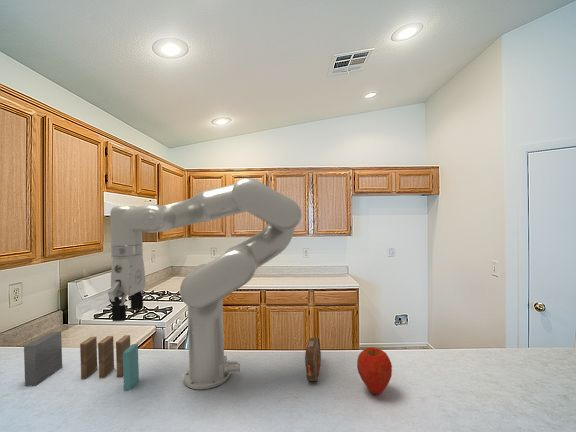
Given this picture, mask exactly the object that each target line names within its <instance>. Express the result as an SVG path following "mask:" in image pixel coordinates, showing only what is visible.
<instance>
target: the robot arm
mask: <svg viewBox="0 0 576 432" xmlns="http://www.w3.org/2000/svg"><path fill="white" fill-rule="evenodd" d="M245 212H247V213H248V214H250V215H252V216H254V217H256V218H258V219H260V220H261V221H263V222H265V223H267V225H266V226H265V227H264V228H263V229H262V230H260V231H259V232H257V233H255V234H254V235H253V236H251V237H250V238H248V239H246V240H243V242H240V243H238V244H236V245H234V246H232V247H229V248H228V249H227V250H226V251H225V252H224V253H223V254H221V255H219V256H217V257H216V258H214V259H212V260H211V261H209V262H207V263H203V264H199V265H197V266H195V267H194V268H192V269H191V270H190V271H189V272H188V273H187V274H186V275H185V277H184V278H183V279H182V280H181V282H180V283H181V284H180V288H179V295H180V299H181V300H182V302H183V303H184V304H185V305H187V327H188V328H187V332H188V334H187V335H188V336H187V337H188V367H189V368H188V370H187V371H186V372H185V374H184V376H183V383H184V386H186V387H188V388H190V389H193V390H207V389H213V388H215V387H218V386H220V385H222V384H224V383H225V382H227V381H228V379H229V378H230V376H231V373H232V372H233V373H238V372H240V371H241V363H238V361H237V360H232V361H230V360H228V357H227V355H225V339H224V335H225V334H224V298H225V297H227V296H229V295H230V294H232V293H234V292H235V291H237V290H239V289H240V288H242V287H244V286H245V285H246V284H248V282H250V281H251V280H252V279H253V277H254V275H255V273H256V271H257V269H258V268H260V267H262V266H263V265H265V264H266V263H268V262H269V261H272V260H273V259H274V258H276V257H277V256H279V255H281V254H282V253H283V251H284V250H286V248H287V247H288V246H289V244H290V243H291V241H292V239H293V237H294V233H295V228H297V226H298V225H299V224H300V223H301V220H302V216H303V215H302V209H301V207H300V205H299V204H298V203H297V202H296V201H294V199H292V198H291V197H288V196H287V195H284V194H283V193H280V192H279V191H277V190H275V189H274V188H272V187H269V186H267V184H264V183H262V182H261V181H259V180H257V179H255V178H252V177H245V178H241V179H239V180H238V181H236V182H235V183H232V184H228V185H223V186H219V187H215V188H211V189H207V190H203V191H200V192H198V193H196V195H194V196H192V197H191V198H188V199H185V200H181V201H177V202H173V203H169V204H164V205H159V204H148V205H140V206H135V205H120V206H119V205H118V206H113V207H112V208H111V210H110V214H109V215H110V247H111V248H110V249H111V250H110V252H111V253H110V254H111V256H110V257H111V259H112V261H111V271H110V273H111V274H110V288H109V290H108V291H107V295H108V298H109V302H110V306H111V316H112V317H111V319H112V322H124V321H127V320H126V319H127V306H126V304H125V302H126V299H127V297H130V309H131V310H142V309H144V296H143V295H144V289H145V288H146V273H145V272H146V271H145V263H144V254H143V251H144V250H143V233H151V234H152V233H153V234H154V233H160V232H167V231H170V230H174V229H178V228H181V227H185V226H189V225H194V224H198V223H207V222H210V221H213V220H218V219H221V218H226V217H229V216H233V215H238V214H242V213H245Z"/></svg>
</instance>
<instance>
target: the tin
mask: <svg viewBox="0 0 576 432" xmlns="http://www.w3.org/2000/svg"><path fill="white" fill-rule="evenodd" d="M321 352H322V351H321V342H320V338H319V336H318V337H310V338H309V339H308V342H307V346H306V349H305V354H304V362H305V370H306V380H307V381H309V382H318V380H319V376H320V370H321V366H322V365H321V363H322V355H321V354H322V353H321Z"/></svg>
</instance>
